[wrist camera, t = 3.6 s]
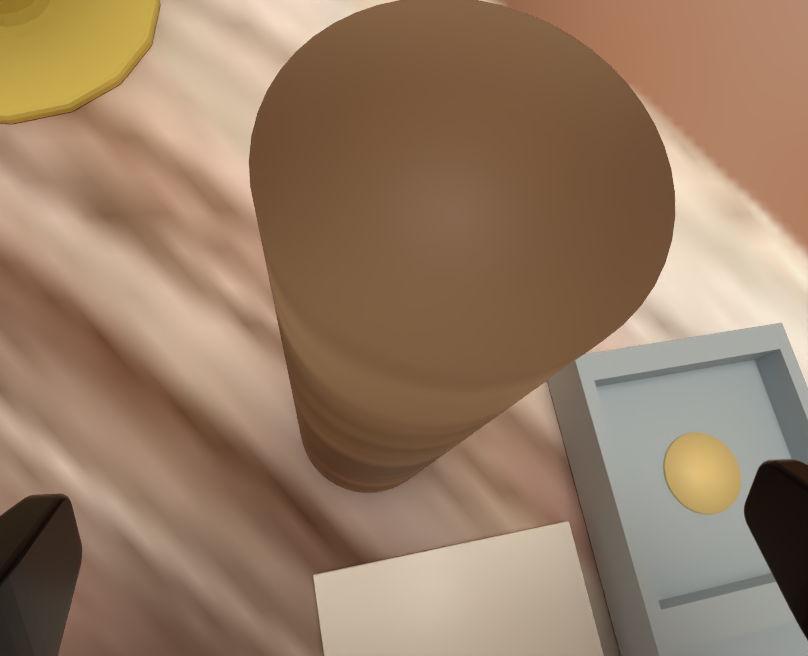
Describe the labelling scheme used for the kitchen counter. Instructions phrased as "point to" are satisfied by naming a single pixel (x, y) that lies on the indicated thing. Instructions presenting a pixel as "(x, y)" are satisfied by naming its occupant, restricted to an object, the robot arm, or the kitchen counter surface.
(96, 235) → the kitchen counter surface
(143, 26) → the candle
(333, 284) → the walnut peg
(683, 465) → the socket board
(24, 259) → the kitchen counter surface
